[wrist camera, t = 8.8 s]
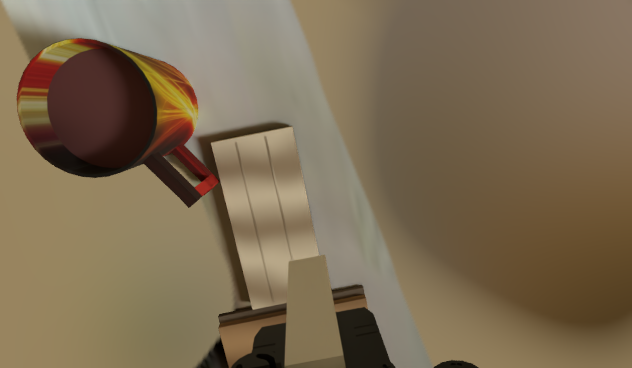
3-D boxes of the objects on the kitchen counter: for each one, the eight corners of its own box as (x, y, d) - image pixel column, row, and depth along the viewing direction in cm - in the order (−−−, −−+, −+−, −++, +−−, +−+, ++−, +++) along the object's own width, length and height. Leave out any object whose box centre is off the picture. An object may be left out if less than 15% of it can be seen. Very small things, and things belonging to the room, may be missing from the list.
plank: (214, 141, 41) (210, 143, 40) (292, 125, 41) (292, 126, 40) (254, 302, 45) (252, 310, 43) (325, 288, 45) (326, 295, 43)
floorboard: (219, 314, 45) (216, 321, 43) (362, 285, 45) (364, 291, 43) (241, 399, 47) (239, 408, 45) (378, 371, 47) (381, 379, 46)
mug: (218, 186, 42) (188, 218, 31) (86, 135, 41) (1, 148, 29) (252, 98, 41) (233, 95, 29) (116, 42, 39) (38, 15, 27)
